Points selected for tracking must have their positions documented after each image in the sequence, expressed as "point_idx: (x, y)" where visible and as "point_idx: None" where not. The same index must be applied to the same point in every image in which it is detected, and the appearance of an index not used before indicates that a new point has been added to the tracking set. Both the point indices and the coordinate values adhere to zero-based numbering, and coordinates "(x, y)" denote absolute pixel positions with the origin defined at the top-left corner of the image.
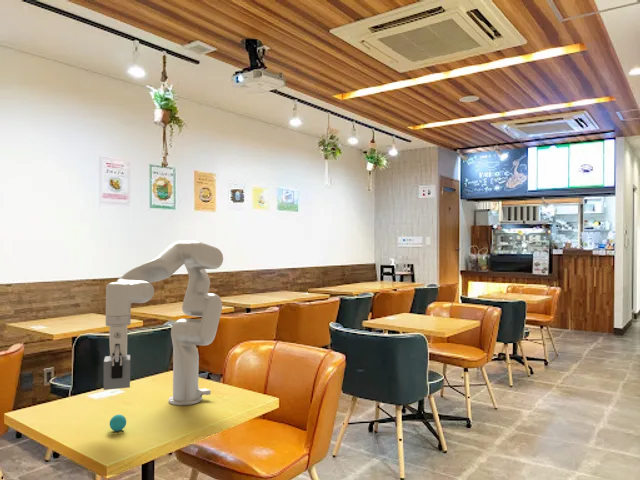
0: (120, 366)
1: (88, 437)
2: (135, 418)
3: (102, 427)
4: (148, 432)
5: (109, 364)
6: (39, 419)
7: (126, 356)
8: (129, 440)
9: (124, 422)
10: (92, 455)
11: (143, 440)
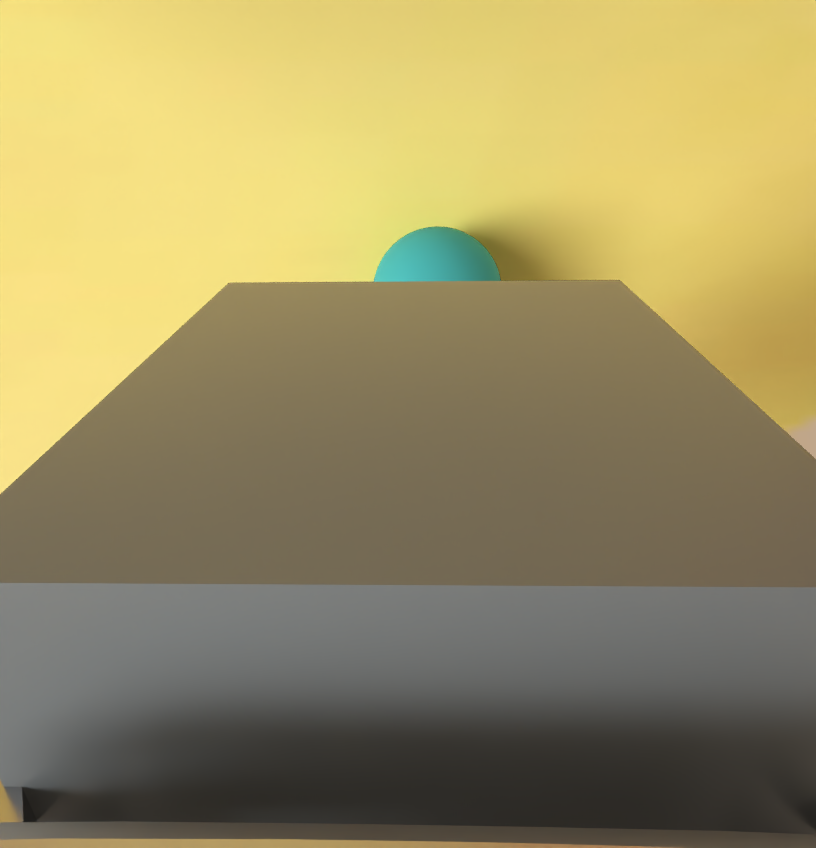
0: None
1: None
2: (160, 143)
3: None
4: (554, 21)
5: None
6: None
7: (221, 689)
8: (667, 185)
9: (476, 243)
10: (810, 407)
11: (724, 69)
